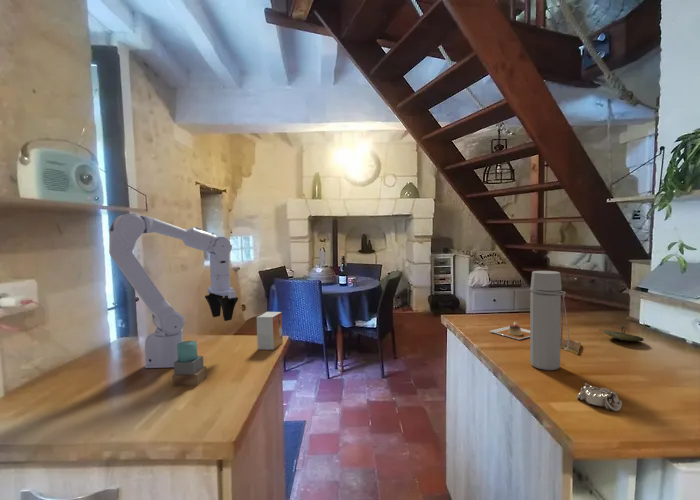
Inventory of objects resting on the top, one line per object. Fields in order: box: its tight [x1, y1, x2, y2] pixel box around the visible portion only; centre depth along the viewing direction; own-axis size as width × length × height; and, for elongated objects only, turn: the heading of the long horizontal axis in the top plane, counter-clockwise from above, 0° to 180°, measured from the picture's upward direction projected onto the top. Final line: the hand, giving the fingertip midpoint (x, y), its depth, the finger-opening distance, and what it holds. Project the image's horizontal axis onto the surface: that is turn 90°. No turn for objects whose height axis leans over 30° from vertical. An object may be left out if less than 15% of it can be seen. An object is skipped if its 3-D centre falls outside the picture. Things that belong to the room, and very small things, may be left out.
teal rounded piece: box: [177, 340, 199, 362], centre depth 96 cm, size 5×5×4 cm
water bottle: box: [529, 270, 570, 371], centre depth 100 cm, size 9×8×25 cm
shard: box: [560, 338, 582, 355], centre depth 115 cm, size 11×8×2 cm
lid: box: [602, 325, 644, 342], centre depth 120 cm, size 11×10×5 cm
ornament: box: [576, 382, 623, 412], centre depth 80 cm, size 8×7×4 cm
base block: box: [172, 365, 207, 387], centre depth 97 cm, size 6×6×3 cm
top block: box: [173, 355, 204, 375], centre depth 96 cm, size 5×5×3 cm
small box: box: [256, 311, 284, 351], centre depth 124 cm, size 8×6×10 cm
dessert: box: [489, 321, 530, 341], centre depth 131 cm, size 12×12×5 cm
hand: (222, 318), depth 119 cm, fingers open, 7 cm apart
